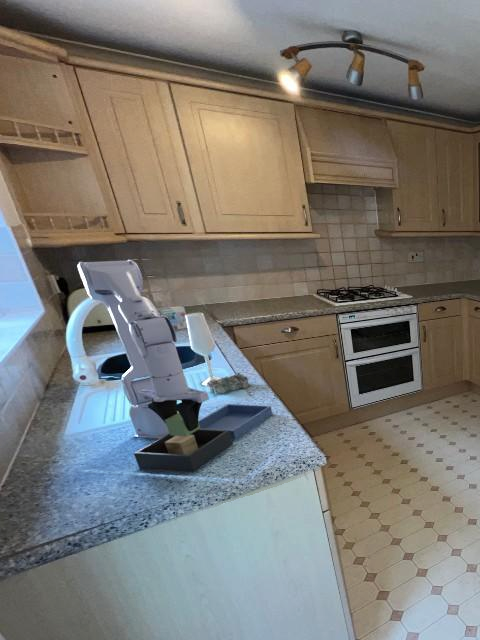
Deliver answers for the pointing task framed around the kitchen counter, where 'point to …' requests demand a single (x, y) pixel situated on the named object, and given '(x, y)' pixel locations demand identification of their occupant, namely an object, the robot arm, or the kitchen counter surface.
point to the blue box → (236, 418)
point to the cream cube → (181, 445)
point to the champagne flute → (201, 340)
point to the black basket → (160, 459)
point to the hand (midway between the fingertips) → (184, 428)
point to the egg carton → (228, 383)
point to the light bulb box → (175, 316)
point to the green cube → (178, 426)
